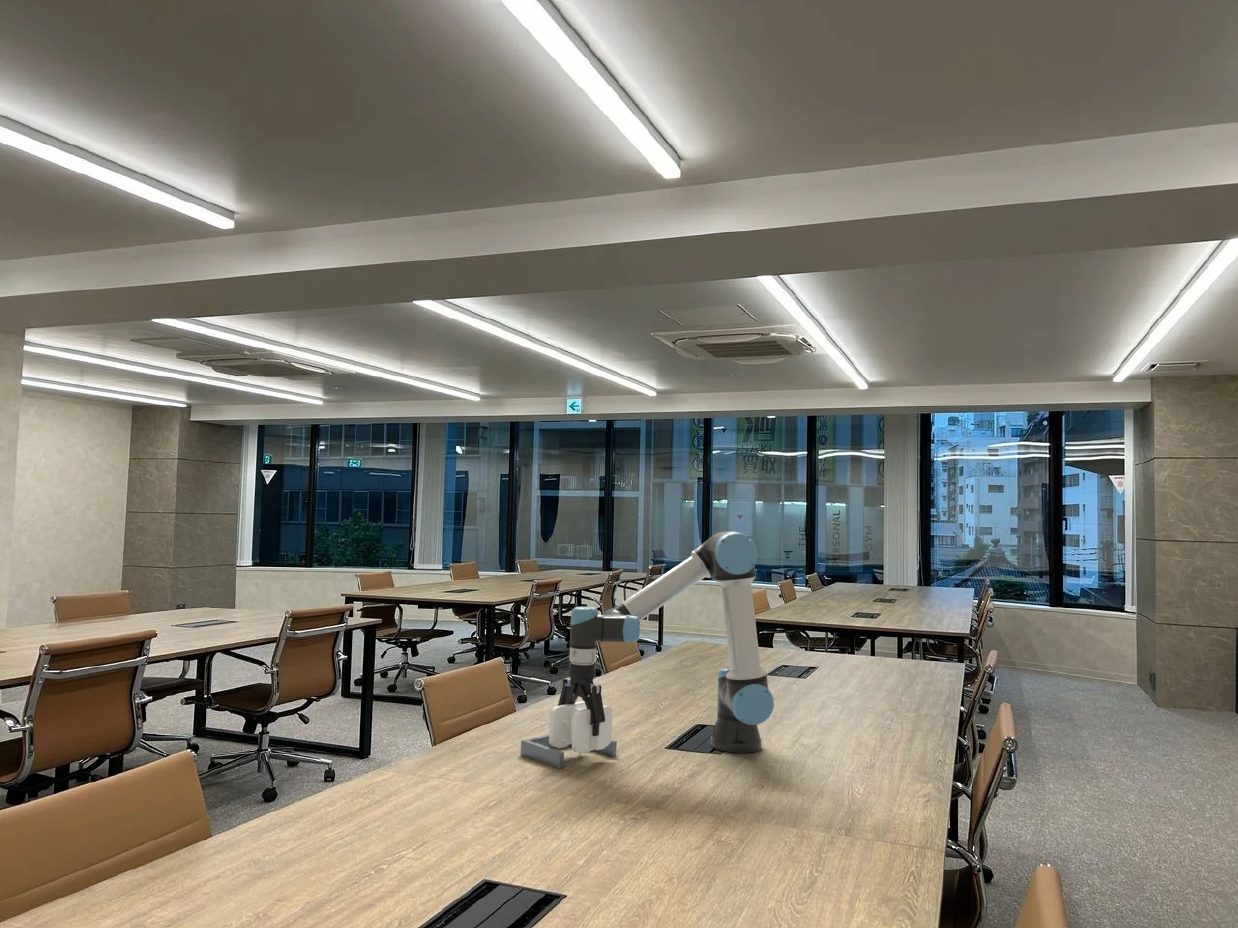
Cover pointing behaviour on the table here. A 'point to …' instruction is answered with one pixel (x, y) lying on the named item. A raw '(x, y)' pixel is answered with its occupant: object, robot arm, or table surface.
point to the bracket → (553, 751)
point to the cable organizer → (577, 727)
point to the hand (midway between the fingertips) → (579, 743)
